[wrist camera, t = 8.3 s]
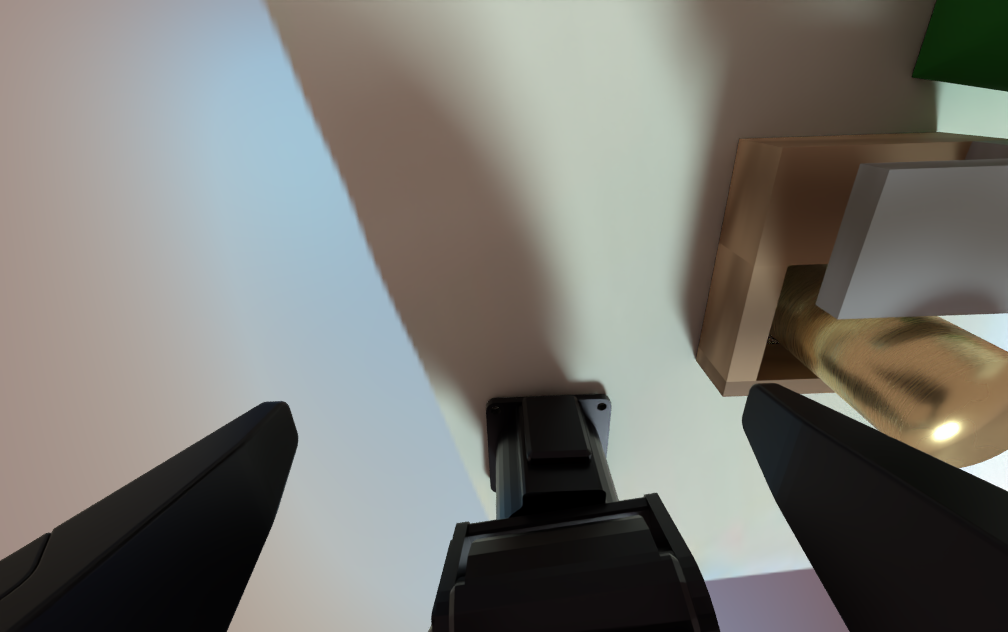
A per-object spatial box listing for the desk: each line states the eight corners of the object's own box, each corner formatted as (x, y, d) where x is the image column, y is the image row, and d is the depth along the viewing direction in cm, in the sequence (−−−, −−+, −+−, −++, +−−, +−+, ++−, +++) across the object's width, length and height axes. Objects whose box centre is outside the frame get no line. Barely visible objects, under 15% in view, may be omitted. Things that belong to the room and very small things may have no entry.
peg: (847, 251, 20) (1082, 358, 12) (821, 329, 22) (1010, 466, 14) (759, 254, 20) (935, 363, 12) (740, 332, 22) (882, 471, 14)
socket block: (852, 354, 23) (1005, 467, 16) (695, 360, 23) (782, 476, 16) (938, 132, 18) (1208, 158, 11) (739, 138, 18) (889, 169, 11)
